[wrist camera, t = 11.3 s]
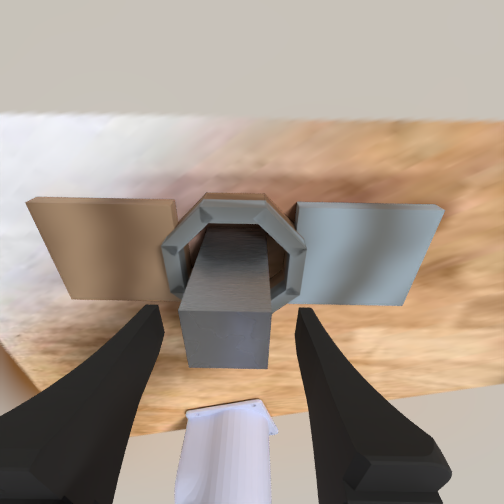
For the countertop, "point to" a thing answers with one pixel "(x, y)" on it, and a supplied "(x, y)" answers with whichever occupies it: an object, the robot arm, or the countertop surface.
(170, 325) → the countertop surface
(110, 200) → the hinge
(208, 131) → the countertop surface
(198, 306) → the grey metal brick
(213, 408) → the robot arm
